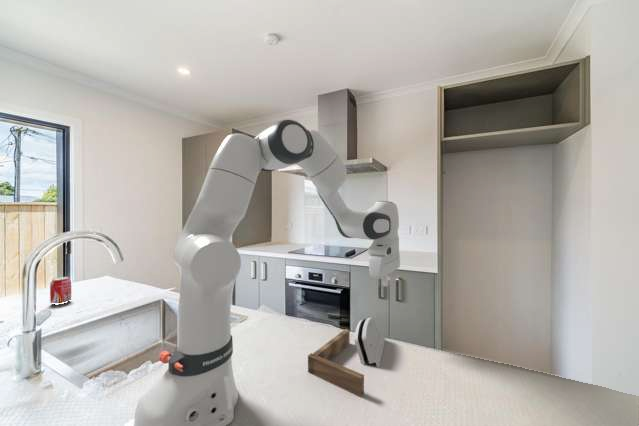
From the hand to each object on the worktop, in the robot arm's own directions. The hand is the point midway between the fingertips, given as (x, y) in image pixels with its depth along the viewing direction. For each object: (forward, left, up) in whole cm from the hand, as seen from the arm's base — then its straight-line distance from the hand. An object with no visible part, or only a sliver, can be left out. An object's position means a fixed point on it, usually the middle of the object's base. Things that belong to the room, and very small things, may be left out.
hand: (386, 285), depth 91 cm
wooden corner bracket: (-24, +1, -17) cm, 30 cm away
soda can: (-62, +136, -17) cm, 151 cm away
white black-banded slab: (-14, 0, -18) cm, 22 cm away
